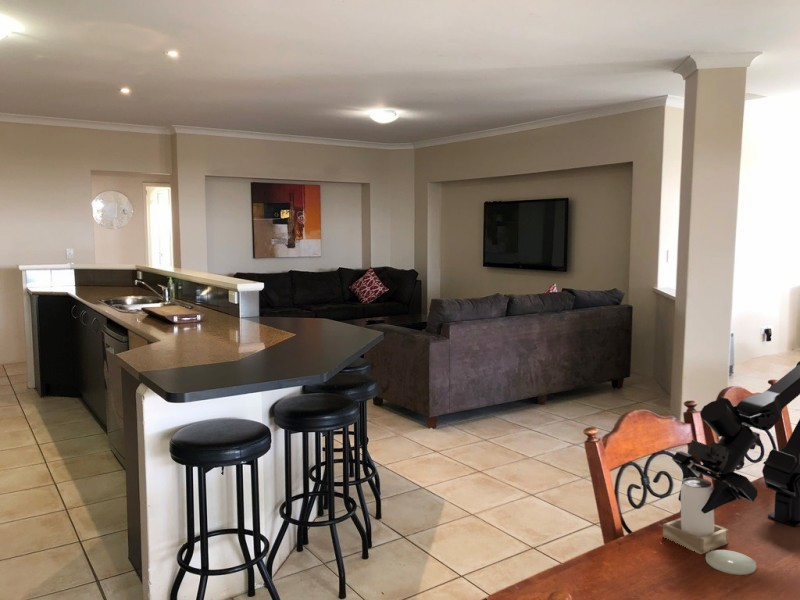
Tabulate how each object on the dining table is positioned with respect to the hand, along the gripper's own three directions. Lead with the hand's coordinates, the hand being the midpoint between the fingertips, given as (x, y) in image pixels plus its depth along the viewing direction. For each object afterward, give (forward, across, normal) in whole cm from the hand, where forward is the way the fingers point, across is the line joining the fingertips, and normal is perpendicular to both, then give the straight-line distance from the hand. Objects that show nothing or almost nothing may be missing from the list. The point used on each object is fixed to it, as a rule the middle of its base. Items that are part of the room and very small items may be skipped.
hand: (691, 506), depth 139 cm
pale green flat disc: (+6, +10, +6) cm, 13 cm away
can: (+4, 0, +6) cm, 7 cm away
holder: (+5, 0, +6) cm, 8 cm away
